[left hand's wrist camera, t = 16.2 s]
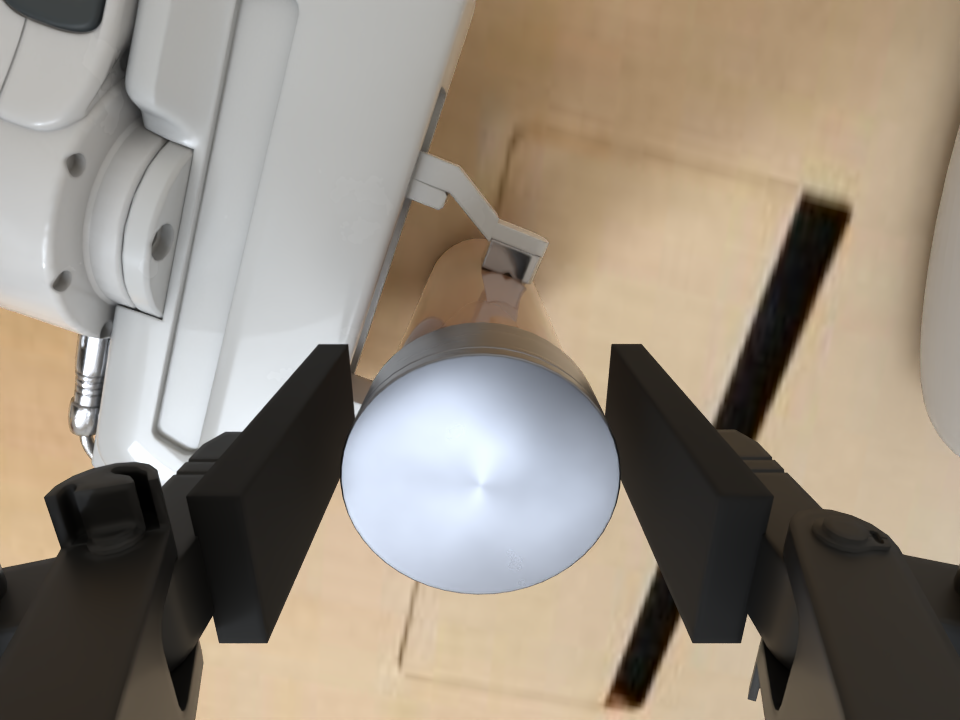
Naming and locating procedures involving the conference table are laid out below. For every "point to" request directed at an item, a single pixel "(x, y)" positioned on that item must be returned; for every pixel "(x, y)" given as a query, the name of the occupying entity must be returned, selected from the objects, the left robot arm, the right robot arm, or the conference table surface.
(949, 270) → the projector
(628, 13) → the conference table surface
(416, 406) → the lid
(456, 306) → the jar
